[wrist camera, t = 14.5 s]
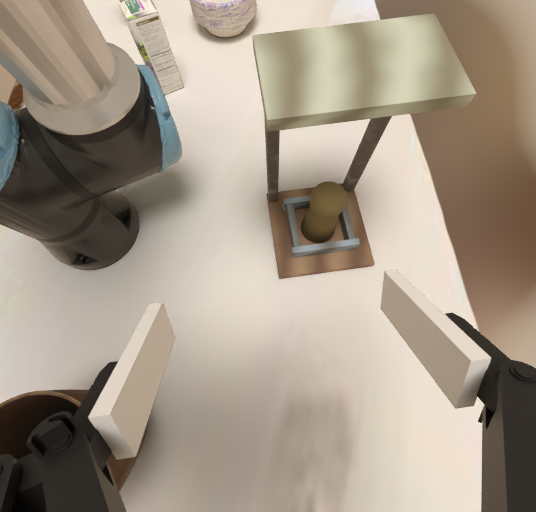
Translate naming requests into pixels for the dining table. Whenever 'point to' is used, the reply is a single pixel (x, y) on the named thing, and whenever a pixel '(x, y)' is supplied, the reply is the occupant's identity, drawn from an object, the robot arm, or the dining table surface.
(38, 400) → the plant pot
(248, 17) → the paper bowls
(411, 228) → the dining table surface
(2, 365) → the dining table surface
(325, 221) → the cork
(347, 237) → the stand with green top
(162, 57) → the syrup box
